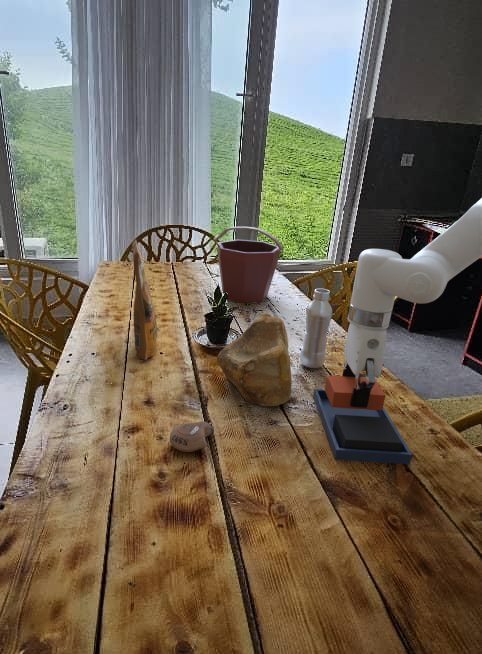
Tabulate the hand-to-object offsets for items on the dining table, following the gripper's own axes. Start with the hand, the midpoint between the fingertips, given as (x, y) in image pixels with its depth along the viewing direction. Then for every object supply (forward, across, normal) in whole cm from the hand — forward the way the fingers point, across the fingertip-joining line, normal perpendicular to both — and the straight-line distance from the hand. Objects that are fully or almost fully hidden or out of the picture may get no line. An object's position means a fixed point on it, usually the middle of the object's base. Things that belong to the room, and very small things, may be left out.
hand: (353, 395), depth 91 cm
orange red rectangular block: (+1, 0, 0) cm, 1 cm away
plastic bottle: (+5, +22, +4) cm, 23 cm away
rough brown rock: (+5, +10, +20) cm, 23 cm away
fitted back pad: (+4, -10, 0) cm, 11 cm away
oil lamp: (+5, -13, +32) cm, 35 cm away
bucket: (+5, +77, +19) cm, 80 cm away
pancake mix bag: (+5, +27, +48) cm, 55 cm away
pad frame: (+5, -5, 0) cm, 7 cm away
